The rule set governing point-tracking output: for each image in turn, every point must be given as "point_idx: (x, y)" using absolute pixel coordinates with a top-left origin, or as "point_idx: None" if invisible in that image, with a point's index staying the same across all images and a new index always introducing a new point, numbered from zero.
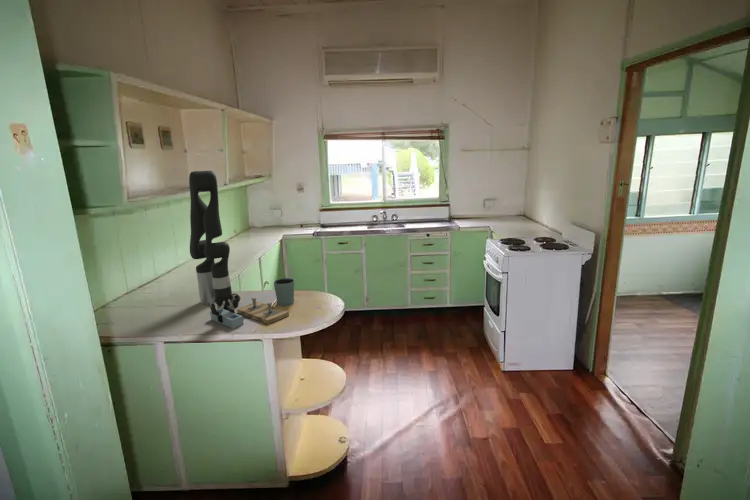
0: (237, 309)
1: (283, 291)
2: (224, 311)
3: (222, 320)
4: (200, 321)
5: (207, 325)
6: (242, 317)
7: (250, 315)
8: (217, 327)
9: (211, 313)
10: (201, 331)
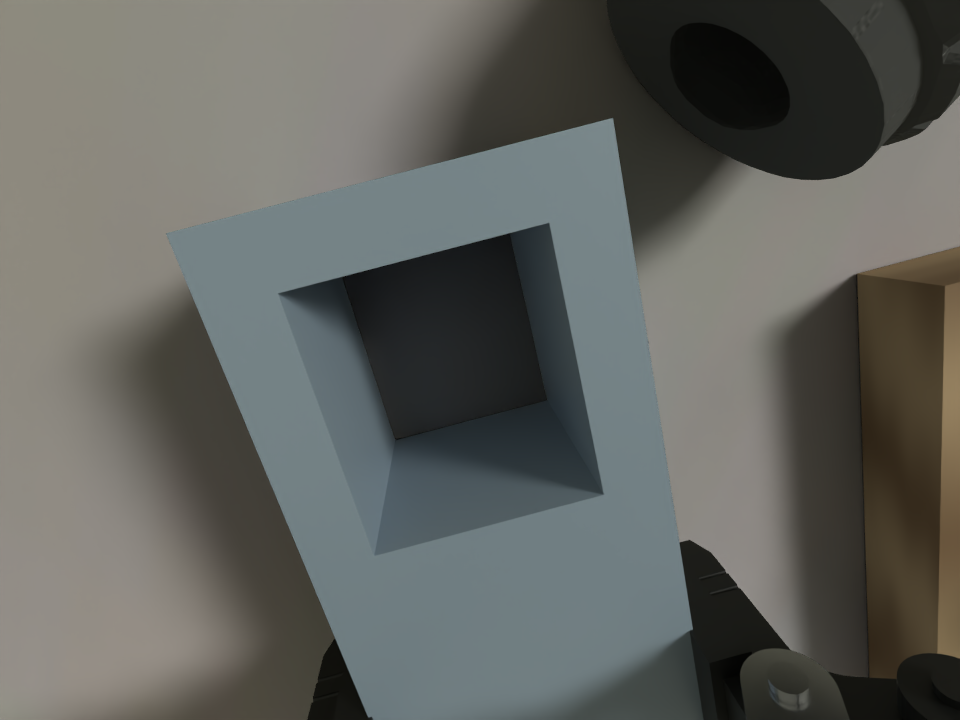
0: (940, 303)
1: None
2: (580, 550)
3: None
4: (10, 155)
5: (146, 497)
6: None
7: None
8: (299, 682)
9: (226, 322)
10: (9, 681)
